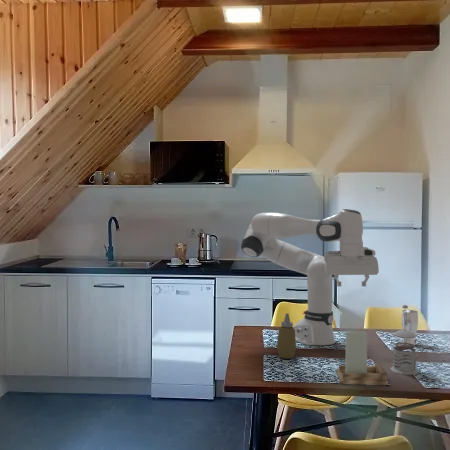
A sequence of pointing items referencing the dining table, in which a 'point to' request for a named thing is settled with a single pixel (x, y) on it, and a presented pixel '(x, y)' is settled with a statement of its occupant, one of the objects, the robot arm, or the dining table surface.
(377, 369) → the wooden tray
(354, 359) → the tall white upright block
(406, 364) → the grey white tiered vessel
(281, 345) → the squeeze bottle
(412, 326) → the beer glass
